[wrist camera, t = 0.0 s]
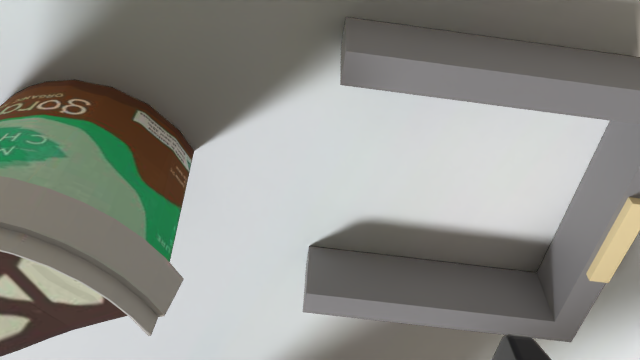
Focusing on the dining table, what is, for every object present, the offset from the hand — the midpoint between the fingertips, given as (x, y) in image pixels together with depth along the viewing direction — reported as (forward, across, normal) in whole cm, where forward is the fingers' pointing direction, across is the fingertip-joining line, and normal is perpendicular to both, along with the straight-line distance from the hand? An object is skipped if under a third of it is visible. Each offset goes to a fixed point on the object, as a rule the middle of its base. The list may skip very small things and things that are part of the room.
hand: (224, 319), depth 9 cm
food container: (+15, +9, +6) cm, 18 cm away
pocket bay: (+14, -6, +6) cm, 17 cm away
